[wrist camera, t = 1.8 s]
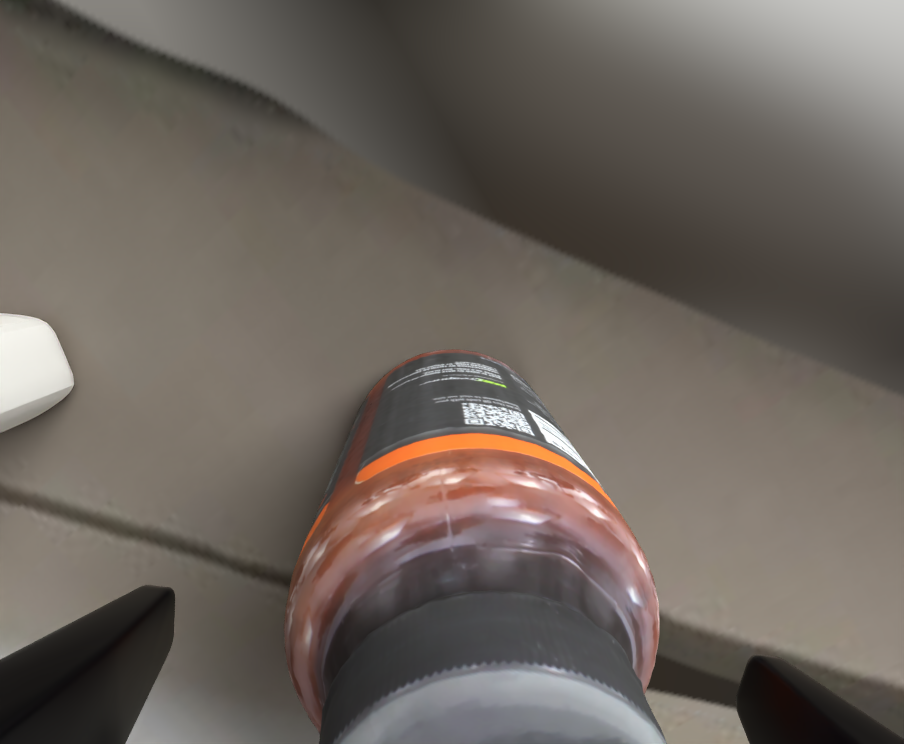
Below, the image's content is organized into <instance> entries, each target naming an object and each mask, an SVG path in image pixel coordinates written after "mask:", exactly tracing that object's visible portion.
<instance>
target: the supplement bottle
mask: <svg viewBox="0 0 904 744" xmlns="http://www.w3.org/2000/svg"><path fill="white" fill-rule="evenodd" d="M659 633H660V632H659V602H658V598H657V593H656V589H655V583H654V579H653V576H652V573H651V571H650V569H649V565H648V562H647V559H646V556H645V554H644V552H643V550H642V549H641V547H640V546H639V544H638V542H637V540H636V538H635V536H634V534H633V533H632V531H631V529H630V528H629V526H628V525H627V523H626V522H625V520H624V519H623V517H622V516H621V514H620V513H619V511H618V510H617V508H616V507H615V506H614V504H613V503H612V501H611V500H610V498H609V496H608V495H607V493H606V492H605V490H604V489H603V488H602V486H601V485H600V483H599V482H598V481H597V479H596V478H595V476H594V475H593V474H592V472H591V471H590V469H589V468H588V467H587V465H586V464H585V463H584V461H583V460H582V458H581V457H580V455H579V454H578V452H577V451H576V450H575V448H574V447H573V445H572V444H571V443H570V441H569V440H568V438H567V437H566V436H565V434H564V433H563V431H562V430H561V428H560V427H559V425H558V424H557V422H556V421H555V420H554V418H553V417H552V416H551V414H550V413H549V411H548V410H547V408H546V407H545V405H544V404H543V403H542V401H541V400H540V398H539V397H538V396H537V394H536V393H535V392H534V391H533V389H532V388H531V387H530V386H529V385H528V383H527V382H526V381H525V380H524V379H523V378H522V377H520V376H519V375H518V374H517V373H516V372H515V371H514V370H512V369H511V368H509V367H508V366H507V365H506V364H505V363H503V362H501V361H498V360H496V359H494V358H491V357H489V356H487V355H483V354H480V353H477V352H471V351H465V350H438V351H434V352H428V353H424V354H420V355H418V356H415V357H413V358H411V359H409V360H407V361H405V362H403V363H402V364H400V365H398V366H397V367H395V368H394V369H392V370H391V371H390V372H389V373H387V374H386V375H385V376H384V377H383V378H382V379H381V380H380V381H379V382H378V383H377V384H376V385H375V387H374V388H373V389H372V390H371V391H370V393H369V394H368V396H367V397H366V399H365V401H364V402H363V404H362V406H361V407H360V409H359V411H358V414H357V417H356V419H355V421H354V424H353V426H352V429H351V431H350V433H349V435H348V438H347V441H346V444H345V446H344V448H343V451H342V453H341V455H340V457H339V459H338V462H337V465H336V467H335V470H334V472H333V474H332V477H331V479H330V482H329V484H328V487H327V489H326V492H325V494H324V496H323V499H322V501H321V503H320V505H319V508H318V510H317V513H316V515H315V517H314V520H313V523H312V525H311V528H310V530H309V532H308V535H307V537H306V539H305V543H304V546H303V548H302V551H301V553H300V556H299V559H298V561H297V564H296V566H295V569H294V571H293V575H292V579H291V584H290V588H289V594H288V599H287V604H286V612H285V620H284V637H285V653H286V659H287V665H288V670H289V675H290V679H291V680H292V683H293V685H294V688H295V691H296V693H297V696H298V699H299V700H300V702H301V704H302V706H303V707H304V709H305V711H306V712H307V714H308V716H309V718H310V720H311V721H312V723H313V724H314V726H315V727H316V728H317V730H318V732H319V733H320V742H319V744H667V743H666V740H665V738H664V735H663V733H662V730H661V728H660V726H659V724H658V722H657V720H656V719H655V717H654V715H653V713H652V711H651V709H650V707H649V705H648V703H647V701H646V698H645V695H644V694H645V692H646V689H647V686H648V684H649V681H650V677H651V673H652V670H653V668H654V666H655V658H656V652H657V648H658V639H659Z"/></svg>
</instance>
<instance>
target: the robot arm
mask: <svg viewBox="0 0 904 744" xmlns="http://www.w3.org/2000/svg"><path fill="white" fill-rule="evenodd" d="M174 617H175V593H174V590H173V589H171V588H170V587H162V586H153V585H144V586H142V587H139V588H137V589H135V590H133V591H132V592H130V593H128V594H126V595H124V596H122V597H120V598H118V599H116V600H114V601H112V602H110V603H108V604H107V605H105V606H103V607H101V608H99V609H97V610H95V611H93V612H91V613H89V614H87V615H85V616H83V617H82V618H80V619H78V620H76V621H74V622H72V623H70V624H68V625H66V626H64V627H62V628H60V629H58V630H57V631H55V632H53V633H51V634H49V635H47V636H45V637H43V638H41V639H39V640H37V641H35V642H33V643H32V644H30V645H28V646H26V647H24V648H22V649H20V650H18V651H16V652H14V653H12V654H10V655H8V656H7V657H5V658H3V659H1V660H0V744H125V743H126V741H127V739H128V737H129V735H130V733H131V731H132V728H133V726H134V724H135V722H136V720H137V718H138V716H139V714H140V712H141V710H142V708H143V706H144V703H145V701H146V699H147V697H148V695H149V693H150V691H151V689H152V687H153V685H154V683H155V680H156V678H157V676H158V674H159V672H160V670H161V668H162V666H163V664H164V662H165V660H166V658H167V655H168V653H169V651H170V648H171V645H172V642H173V637H174ZM736 707H737V712H738V715H739V718H740V720H741V723H742V725H743V728H744V730H745V733H746V736H747V738H748V741H749V743H750V744H904V739H903V738H901V737H900V736H898V735H897V734H895V733H894V732H892V731H891V730H889V729H888V728H886V727H885V726H883V725H882V724H880V723H879V722H877V721H876V720H874V719H873V718H871V717H870V716H868V715H867V714H865V713H864V712H862V711H861V710H859V709H858V708H856V707H855V706H853V705H852V704H850V703H848V702H847V701H845V700H844V699H842V698H841V697H839V696H838V695H836V694H835V693H833V692H832V691H830V690H829V689H827V688H826V687H824V686H823V685H821V684H820V683H818V682H817V681H815V680H814V679H812V678H811V677H809V676H808V675H806V674H805V673H803V672H802V671H800V670H799V669H797V668H796V667H794V666H793V665H791V664H789V663H788V662H786V661H785V660H783V659H782V658H779V657H775V656H766V655H753V656H752V657H751V658H750V659H749V660H748V662H747V665H746V668H745V671H744V674H743V677H742V680H741V683H740V686H739V688H738V691H737V695H736Z"/></svg>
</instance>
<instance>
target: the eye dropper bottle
mask: <svg viewBox="0 0 904 744" xmlns="http://www.w3.org/2000/svg"><path fill="white" fill-rule="evenodd" d="M73 386H74V378H73V373H72V371H71V368H70V366H69V363H68V361H67V358H66V356H65V354H64V351H63V349H62V347H61V344H60V342H59V340H58V338H57V336H56V334H55V332H54V330H53V329H52V328H51V327H50V325H49V324H48V323H46V322H44V321H42V320H40V319H38V318H34V317H29V316H24V315H17V314H6V313H0V433H1V432H4V431H6V430H8V429H10V428H13V427H15V426H17V425H20V424H22V423H24V422H26V421H28V420H30V419H32V418H34V417H36V416H38V415H40V414H42V413H43V412H45V411H47V410H48V409H50V408H51V407H53V406H54V405H56V404H57V403H58V402H60V401H61V400H62V399H64V398H65V397H66V396H67V395H68V394H69V393H70V392H71V390H72V388H73Z"/></svg>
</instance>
